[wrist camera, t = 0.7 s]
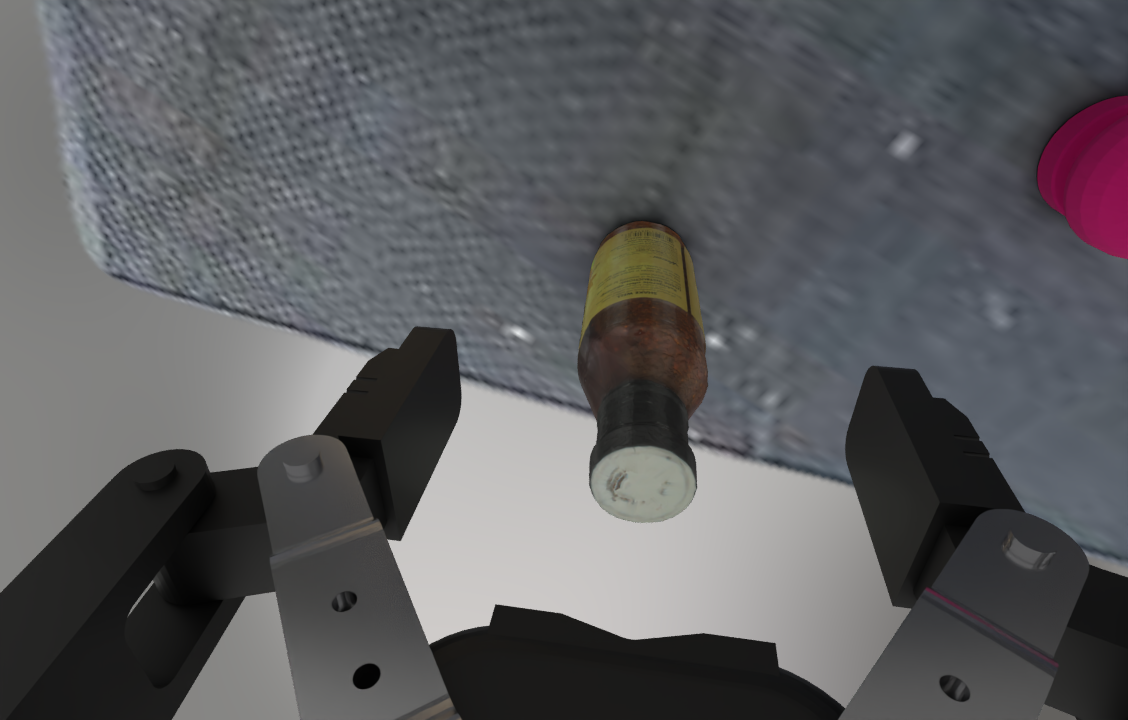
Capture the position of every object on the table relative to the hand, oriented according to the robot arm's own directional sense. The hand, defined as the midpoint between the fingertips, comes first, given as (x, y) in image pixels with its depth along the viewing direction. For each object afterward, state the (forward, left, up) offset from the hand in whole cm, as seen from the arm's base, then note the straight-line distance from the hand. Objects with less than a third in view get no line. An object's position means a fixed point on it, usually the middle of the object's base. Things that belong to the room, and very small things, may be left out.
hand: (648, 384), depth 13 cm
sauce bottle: (+7, +6, -27) cm, 29 cm away
